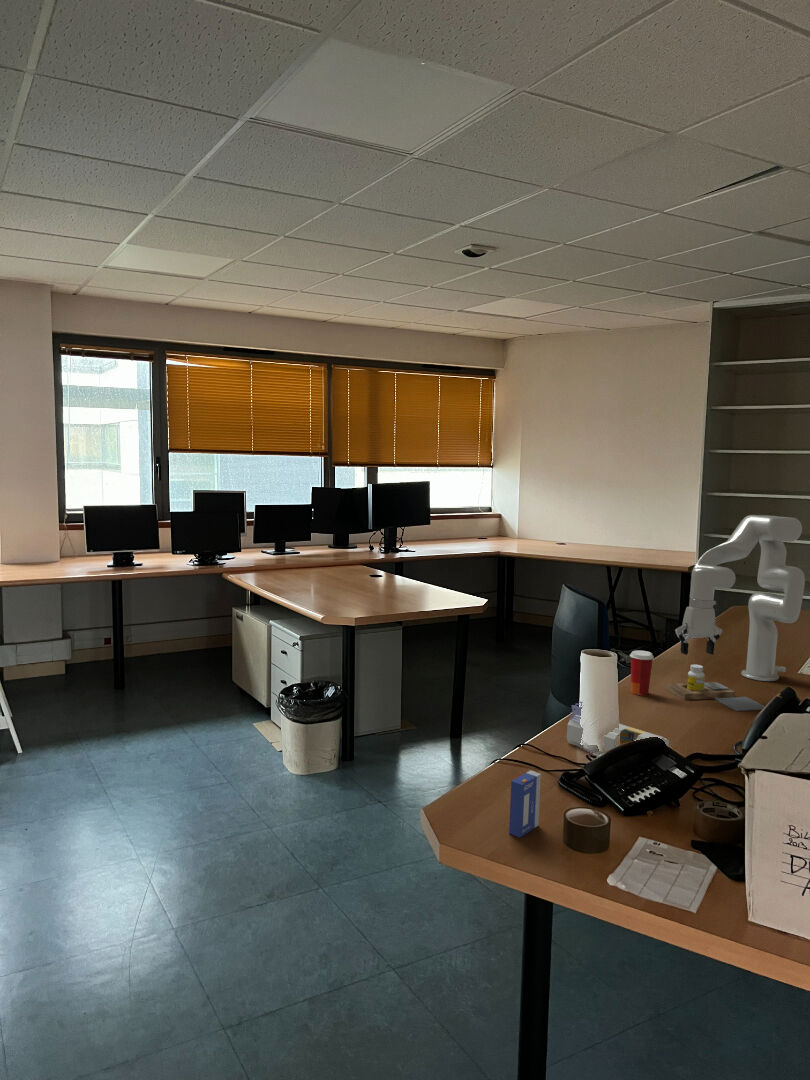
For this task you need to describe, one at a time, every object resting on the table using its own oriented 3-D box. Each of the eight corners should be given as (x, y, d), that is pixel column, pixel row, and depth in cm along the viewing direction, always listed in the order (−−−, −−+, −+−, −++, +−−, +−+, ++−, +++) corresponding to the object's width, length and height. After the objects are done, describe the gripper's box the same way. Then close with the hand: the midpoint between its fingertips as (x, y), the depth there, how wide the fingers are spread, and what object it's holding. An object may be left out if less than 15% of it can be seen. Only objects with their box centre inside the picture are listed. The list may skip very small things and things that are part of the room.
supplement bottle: (683, 691, 269) (685, 663, 268) (699, 691, 270) (701, 663, 268) (690, 696, 264) (692, 668, 263) (706, 696, 264) (708, 668, 263)
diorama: (566, 744, 217) (568, 699, 216) (587, 736, 224) (589, 692, 223) (647, 773, 199) (650, 723, 198) (667, 763, 206) (670, 715, 205)
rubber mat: (745, 697, 264) (745, 696, 264) (769, 709, 252) (769, 708, 252) (714, 699, 261) (714, 698, 261) (736, 711, 249) (737, 709, 249)
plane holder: (715, 687, 274) (715, 680, 274) (734, 697, 264) (735, 689, 264) (666, 689, 270) (667, 682, 270) (684, 699, 260) (685, 692, 259)
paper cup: (651, 691, 268) (654, 651, 267) (650, 697, 261) (653, 656, 259) (628, 688, 271) (630, 649, 269) (626, 694, 263) (629, 654, 262)
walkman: (520, 838, 163) (522, 783, 162) (508, 833, 165) (511, 779, 163) (539, 825, 169) (542, 772, 168) (528, 821, 171) (530, 768, 169)
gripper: (717, 602, 269) (712, 650, 270) (672, 601, 265) (667, 651, 266) (730, 606, 261) (726, 656, 263) (684, 605, 257) (680, 656, 259)
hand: (696, 653), depth 265 cm, fingers open, 9 cm apart
